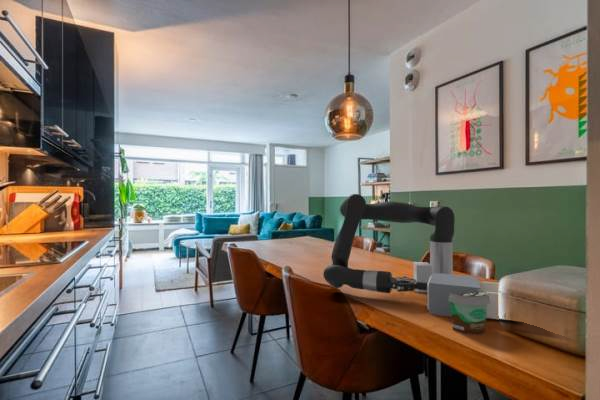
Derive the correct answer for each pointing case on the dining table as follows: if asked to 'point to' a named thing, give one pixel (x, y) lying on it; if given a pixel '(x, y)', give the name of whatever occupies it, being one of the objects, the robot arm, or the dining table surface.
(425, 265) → the small box
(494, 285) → the white cuboid
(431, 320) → the dining table surface
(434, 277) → the sleeve
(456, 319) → the food container
